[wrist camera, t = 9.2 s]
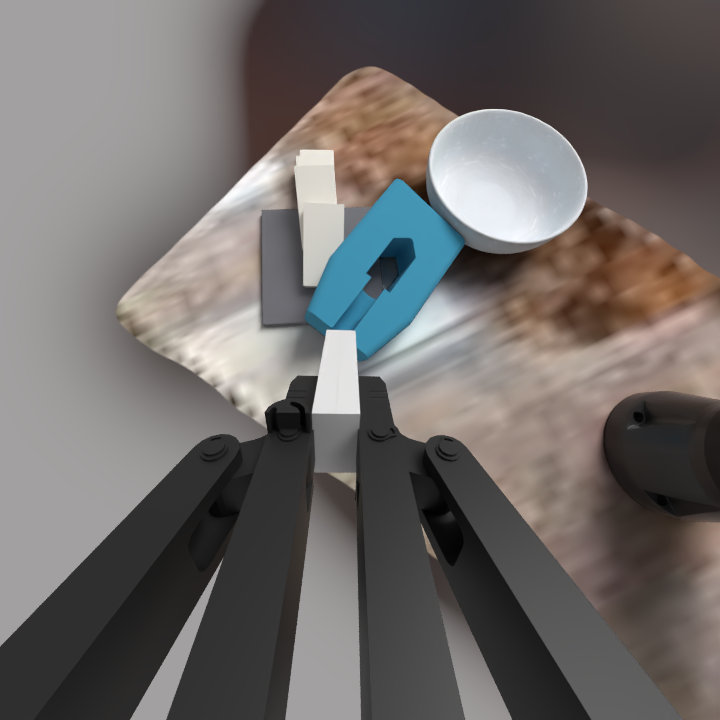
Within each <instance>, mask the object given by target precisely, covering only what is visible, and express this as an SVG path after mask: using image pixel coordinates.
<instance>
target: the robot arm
mask: <svg viewBox="0 0 720 720" xmlns="http://www.w3.org/2000/svg"><path fill="white" fill-rule="evenodd" d="M265 417H266V424H267V430H268V434H267V435H265V436H263V437H261V438H258V439H255V440H251V441H247V442H243V443H239V441H238V440H237V439H236V437H234V436H231V435H226V434H220V435H216V436H211V437H209V438H207V439H205V440H203V441H201V442H200V443H199V444H197V445H196V446H195V447H194V448H193V449H192V450H191V451H190V452H189V453H188V454H187V455H186V456H185V457H184V458H183V459H182V460H181V461H180V462H179V463H178V464H177V465H176V466H175V467H174V468H173V470H172V471H170V472H169V474H168V475H167V476H166V477H165V478H164V479H163V480H162V481H161V482H160V483H159V484H158V485H157V486H156V487H155V488H154V489H153V490H152V491H151V492H150V493H149V494H148V495H147V496H146V497H145V498H144V499H143V500H142V501H141V502H140V503H139V504H138V505H137V507H135V509H134V510H133V511H132V512H131V513H130V514H129V515H128V516H127V517H126V518H125V519H124V520H123V521H122V522H121V523H120V524H119V525H118V526H117V527H116V528H115V529H114V530H113V531H112V532H111V533H110V534H109V535H108V536H107V537H106V538H105V540H103V542H102V543H101V544H100V545H99V546H98V547H97V548H96V549H95V550H94V551H93V552H92V553H91V554H90V555H89V556H88V557H87V558H86V559H85V560H84V561H83V562H82V563H81V564H80V565H79V566H78V567H77V568H76V569H75V570H74V571H73V572H72V573H71V574H70V575H69V576H68V578H67V579H66V580H65V581H64V582H63V583H62V584H61V585H60V586H59V587H58V588H57V589H56V590H55V591H54V592H53V593H52V594H51V595H50V596H49V597H48V598H47V599H46V600H45V601H44V602H43V603H42V604H41V605H40V606H39V607H38V608H37V609H36V611H35V612H34V613H33V614H32V615H31V616H30V617H29V618H28V619H27V620H26V621H25V622H24V623H23V624H22V625H21V626H20V627H19V628H18V629H17V630H16V631H15V632H14V633H13V634H12V635H11V636H10V637H9V638H8V639H7V640H6V641H5V642H4V643H3V644H2V645H1V647H0V720H130V719H131V717H132V715H133V713H134V712H135V710H136V708H137V706H138V705H139V703H140V701H141V699H142V697H143V696H144V694H145V692H146V690H147V689H148V687H149V685H150V684H151V682H152V680H153V679H154V677H155V675H156V673H157V672H158V670H159V668H160V666H161V665H162V663H163V661H164V659H165V658H166V656H167V654H168V653H169V651H170V649H171V647H172V646H173V644H174V642H175V640H176V639H177V637H178V635H179V633H180V632H181V630H182V628H183V626H184V625H185V623H186V621H187V619H188V618H189V616H190V614H191V613H192V611H193V609H194V607H195V606H196V604H197V602H198V600H199V599H200V597H201V595H202V593H203V592H204V590H205V588H206V587H207V585H208V583H209V581H210V580H211V578H212V576H213V574H214V573H215V571H216V569H217V567H218V566H219V564H220V562H221V561H222V559H223V561H222V564H221V567H220V570H219V572H218V575H217V578H216V581H215V584H214V587H213V590H212V593H211V595H210V598H209V601H208V604H207V606H206V609H205V612H204V615H203V618H202V621H201V623H200V626H199V629H198V632H197V635H196V638H195V641H194V643H193V646H192V649H191V652H190V655H189V657H188V660H187V663H186V666H185V668H184V672H183V674H182V677H181V680H180V683H179V686H178V688H177V691H176V694H175V697H174V700H173V702H172V705H171V708H170V711H169V714H168V716H167V719H166V720H285V716H286V708H287V700H288V692H289V683H290V675H291V667H292V658H293V651H294V643H295V634H296V626H297V618H298V610H299V601H300V593H301V585H302V577H303V569H304V560H305V552H306V544H307V536H308V528H309V520H310V512H311V503H312V495H313V487H314V486H313V473H314V470H315V472H356V492H355V500H356V515H357V558H358V601H359V643H360V686H361V720H465V717H464V713H463V708H462V704H461V699H460V695H459V690H458V687H457V682H456V677H455V673H454V668H453V664H452V660H451V656H450V651H449V647H448V642H447V638H446V633H445V628H444V624H443V620H442V615H441V611H440V606H439V602H438V598H437V593H436V589H435V584H434V580H433V575H432V571H431V567H430V563H429V558H428V553H427V549H426V545H425V540H424V536H423V531H422V527H421V524H422V526H423V528H424V531H425V533H426V535H427V537H428V539H429V541H430V543H431V546H432V548H433V550H434V552H435V554H436V556H437V558H438V561H439V563H440V565H441V567H442V569H443V571H444V574H445V576H446V578H447V580H448V582H449V584H450V586H451V589H452V591H453V593H454V595H455V597H456V599H457V601H458V603H459V606H460V608H461V610H462V612H463V614H464V616H465V619H466V621H467V623H468V625H469V627H470V629H471V632H472V634H473V636H474V638H475V640H476V642H477V644H478V646H479V649H480V651H481V653H482V655H483V657H484V659H485V662H486V664H487V666H488V668H489V670H490V672H491V675H492V677H493V679H494V681H495V683H496V685H497V687H498V690H499V692H500V694H501V696H502V698H503V700H504V702H505V704H506V707H507V709H508V711H509V713H510V715H511V717H512V720H683V718H682V717H681V716H680V715H679V713H678V712H677V711H676V710H675V708H674V707H673V706H672V705H671V703H670V702H669V701H668V700H667V698H666V697H665V696H664V695H663V693H662V692H661V691H660V690H659V688H658V687H657V686H656V685H655V683H654V682H653V681H652V680H651V678H650V677H649V676H648V675H647V673H646V672H645V671H644V669H643V668H642V667H641V666H640V664H639V663H638V662H637V661H636V659H635V658H634V657H633V656H632V654H631V653H630V652H629V651H628V649H627V648H626V647H625V646H624V644H623V643H622V642H621V641H620V639H619V638H618V637H617V636H616V634H615V633H614V632H613V631H612V629H611V628H610V627H609V626H608V624H607V623H606V622H605V621H604V619H603V618H602V617H601V616H600V614H599V613H598V612H597V611H596V609H595V608H594V607H593V605H592V604H591V603H590V602H589V600H588V599H587V598H586V597H585V595H584V594H583V593H582V592H581V590H580V589H579V588H578V587H577V585H576V584H575V583H574V582H573V580H572V579H571V578H570V577H569V575H568V574H567V573H566V572H565V570H564V569H563V568H562V567H561V565H560V564H559V563H558V562H557V560H556V559H555V558H554V557H553V555H552V554H551V553H550V552H549V550H548V549H547V548H546V546H545V545H544V544H543V543H542V541H541V540H540V539H539V538H538V536H537V535H536V534H535V533H534V531H533V530H532V529H531V528H530V526H529V525H528V524H527V523H526V521H525V520H524V519H523V518H522V516H521V515H520V514H519V513H518V511H517V510H516V509H515V508H514V506H513V505H512V504H511V503H510V501H509V500H508V499H507V498H506V496H505V495H504V494H503V493H502V491H501V490H500V489H499V488H498V486H497V485H496V484H495V482H494V481H493V480H492V479H491V477H490V476H489V475H488V474H487V472H486V471H485V470H484V469H483V467H482V466H481V465H480V464H479V462H478V461H477V460H476V459H475V457H474V456H473V455H472V454H471V452H470V451H469V450H468V449H467V447H466V446H464V445H463V444H462V443H461V442H460V441H458V440H456V439H455V438H453V437H449V436H445V435H438V436H434V437H431V438H430V439H429V440H428V441H427V442H426V443H423V442H419V441H415V440H412V439H409V438H407V437H405V436H404V435H402V434H401V433H400V432H399V430H398V428H397V427H396V426H395V425H394V422H393V418H392V413H391V408H390V403H389V399H388V394H387V389H386V384H385V383H384V381H383V380H382V379H381V378H380V377H371V376H358V367H357V349H356V332H355V331H352V330H327V331H326V336H325V342H324V347H323V353H322V359H321V364H320V370H319V375H318V376H297V377H296V378H295V379H294V380H293V381H292V382H291V384H290V387H289V390H288V393H287V396H286V399H285V400H281V401H278V402H275V403H274V404H272V405H271V406H269V407H268V408H267V410H266V411H265ZM605 450H606V455H607V459H608V462H609V465H610V467H611V470H612V472H613V474H614V476H615V477H616V479H617V481H618V482H619V484H620V485H621V486H622V488H623V489H624V490H625V491H626V492H627V493H628V494H629V495H630V496H631V497H632V498H633V499H634V500H635V501H637V502H638V503H639V504H641V505H642V506H644V507H646V508H648V509H649V510H652V511H654V512H657V513H660V514H663V515H666V516H670V517H673V518H676V519H680V520H685V521H692V522H720V400H717V399H712V398H706V397H701V396H695V395H690V394H684V393H679V392H671V391H657V392H645V393H638V394H634V395H632V396H629V397H627V398H626V399H624V400H623V401H621V402H620V403H619V404H618V405H617V406H616V407H615V409H614V410H613V411H612V413H611V415H610V417H609V419H608V422H607V425H606V430H605ZM224 555H225V556H224ZM223 557H224V558H223Z"/></svg>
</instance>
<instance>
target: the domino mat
mask: <svg viewBox="0 0 720 720" xmlns="http://www.w3.org/2000/svg"><path fill="white" fill-rule="evenodd" d="M371 208H372V207H356V208H344V240H345V239H346V237H347V236H348V235H349V234H350V233H351V231H352V230H353V229H354V228H355V227H356V225H357V224H358V223H359V222H360V221H361V219H362V218H363V217H364V216H365V215H366V214H367V212H368V211H369V210H370V209H371ZM367 274H368V275H369V276H370V277H371V278H370V280H369V281H368V282H367V283H366V285H365V286H364V287H363V289H362V290H363V291H364V292H365V293H366V294H367V295H368V296H370V297H371V298H373V299H375V300H376V299H377V298H378V296H379V295H380V294H381V292H382V291H383V287H382V277H381V268H380V258H378V259H377V261H376V262H375V263H374V265H373V266H372V267H371V268H370V270H369V271H368V272H367ZM315 290H316V288H306V287H304V286H303V249H302V242H301V232H300V222H299V211H298V209H283V210H262V311H263V325H264V326H282V325H299V324H309V323H308V322H307V321H306V320H305V314H306V311H307V309H308V306H309V304H310V302H311V299H312V297H313V295H314V292H315Z"/></svg>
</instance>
